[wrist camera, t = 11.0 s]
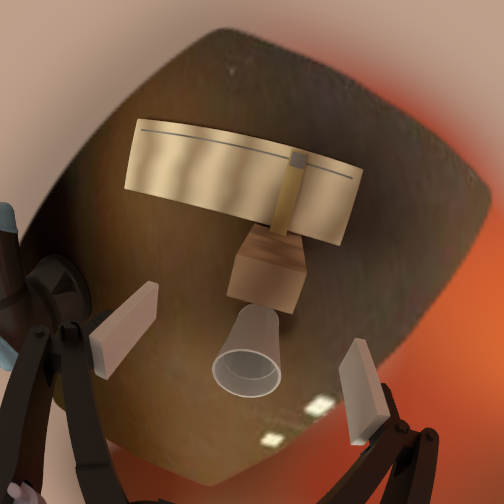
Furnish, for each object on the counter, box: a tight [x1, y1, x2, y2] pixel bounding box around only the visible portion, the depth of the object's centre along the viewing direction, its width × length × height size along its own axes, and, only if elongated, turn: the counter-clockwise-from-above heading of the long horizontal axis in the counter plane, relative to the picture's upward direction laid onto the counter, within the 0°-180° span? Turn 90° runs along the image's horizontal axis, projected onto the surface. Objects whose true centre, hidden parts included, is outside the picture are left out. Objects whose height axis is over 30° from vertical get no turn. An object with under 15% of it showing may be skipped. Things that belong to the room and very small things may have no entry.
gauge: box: [226, 148, 309, 314], centre depth 28 cm, size 6×14×14 cm, turn 166°
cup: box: [212, 304, 281, 397], centre depth 34 cm, size 8×8×12 cm
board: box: [125, 119, 363, 246], centre depth 33 cm, size 30×10×2 cm, turn 76°
